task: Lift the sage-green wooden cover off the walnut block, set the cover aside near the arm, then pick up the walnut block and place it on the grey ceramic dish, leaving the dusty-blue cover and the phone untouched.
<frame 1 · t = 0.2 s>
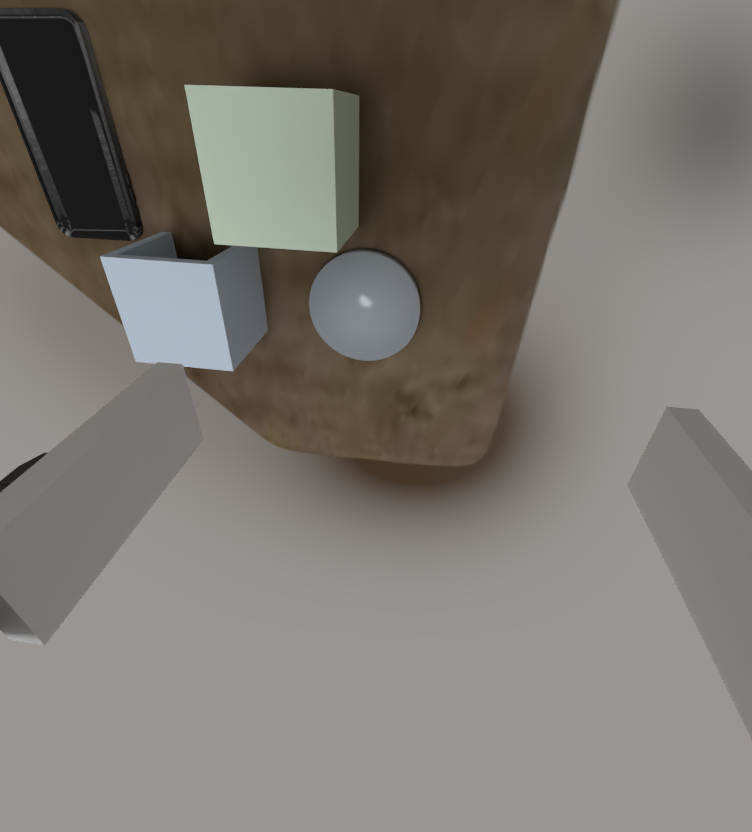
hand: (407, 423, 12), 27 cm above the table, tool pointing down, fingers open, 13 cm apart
phone: (79, 138, 34), on the table
dish: (365, 305, 38), on the table
blue cover: (218, 283, 39), on the table
sage cover: (304, 163, 33), on the table
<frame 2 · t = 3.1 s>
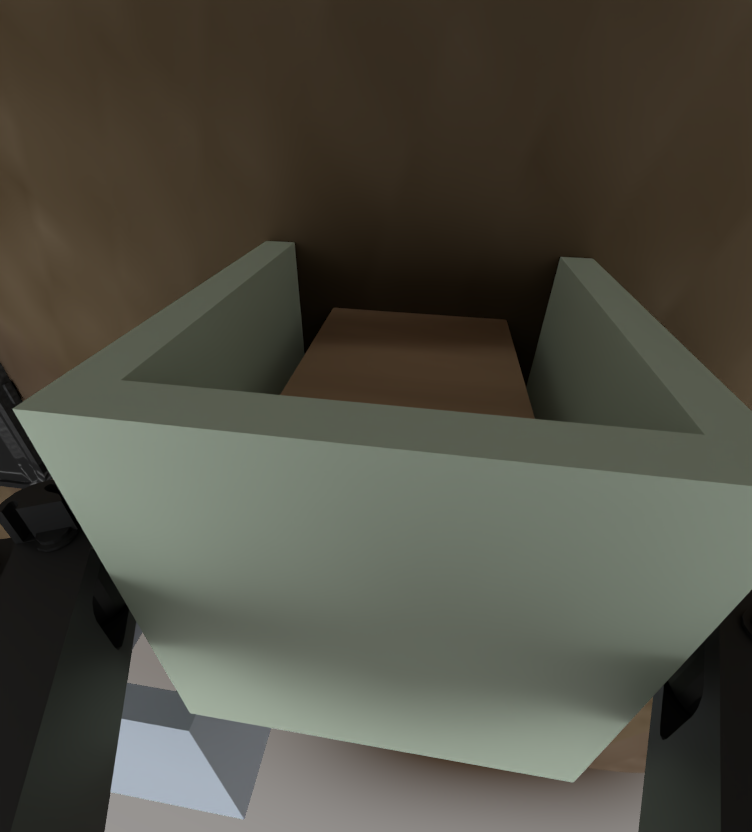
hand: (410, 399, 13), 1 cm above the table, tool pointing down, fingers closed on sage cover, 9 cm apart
walnut block: (412, 386, 14), on the table
blue cover: (212, 547, 20), on the table
sage cover: (412, 388, 14), on the table, touching gripper
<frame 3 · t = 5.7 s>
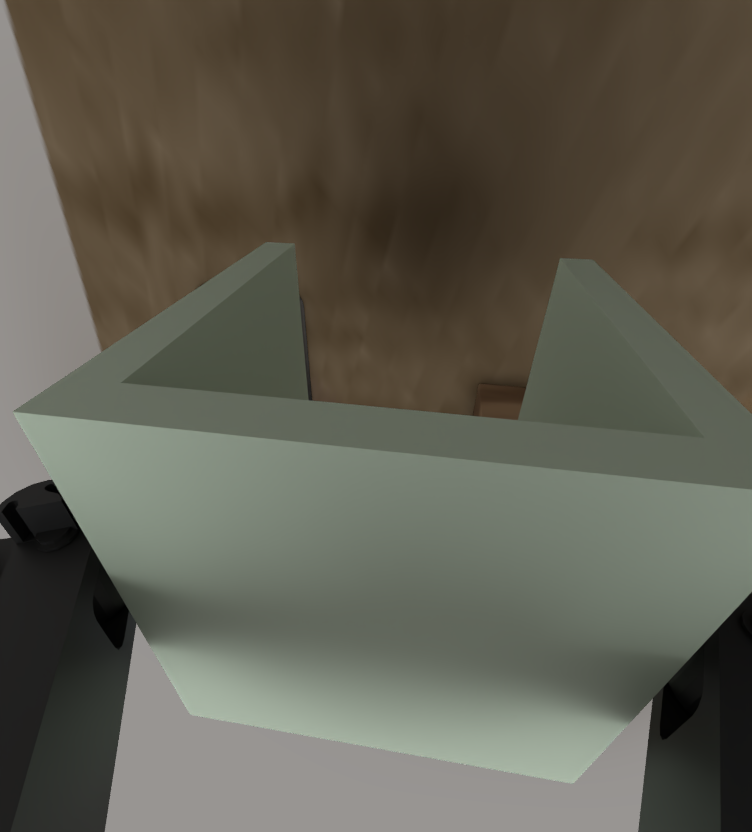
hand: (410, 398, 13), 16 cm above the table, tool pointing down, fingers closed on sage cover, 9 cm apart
walnut block: (506, 414, 32), on the table
phone: (265, 377, 34), on the table
sage cover: (412, 389, 14), point 15 cm above the table, touching gripper
when the fingers open (2 cm above the table, at t = 8.2 s): sage cover drops 2 cm, on the table.
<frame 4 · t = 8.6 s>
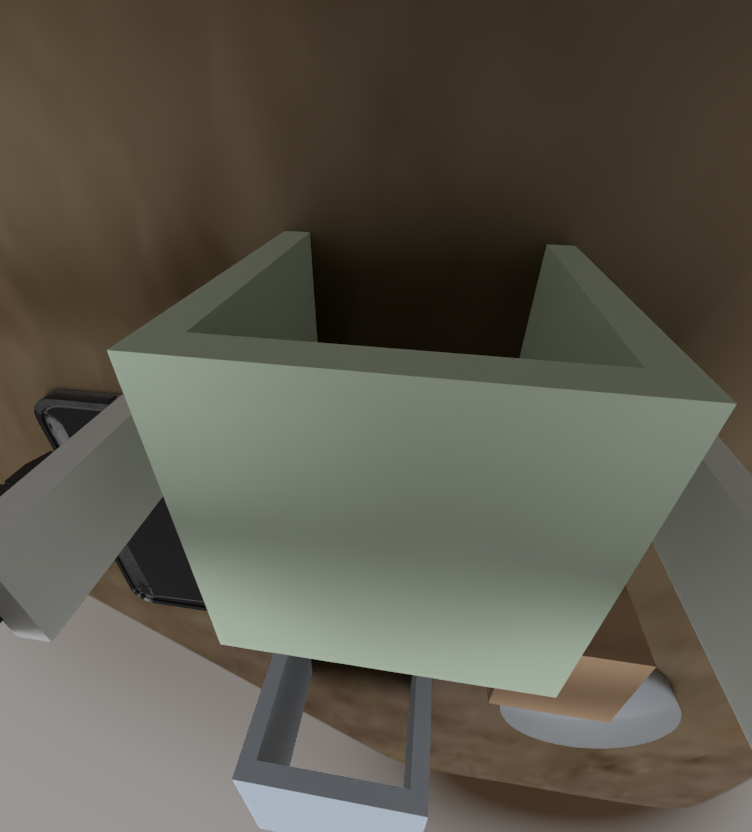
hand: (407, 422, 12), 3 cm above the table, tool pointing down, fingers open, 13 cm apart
walnut block: (541, 575, 21), on the table
phone: (176, 508, 22), on the table
dish: (580, 693, 26), on the table
blue cover: (360, 650, 27), on the table
sage cover: (414, 366, 15), on the table
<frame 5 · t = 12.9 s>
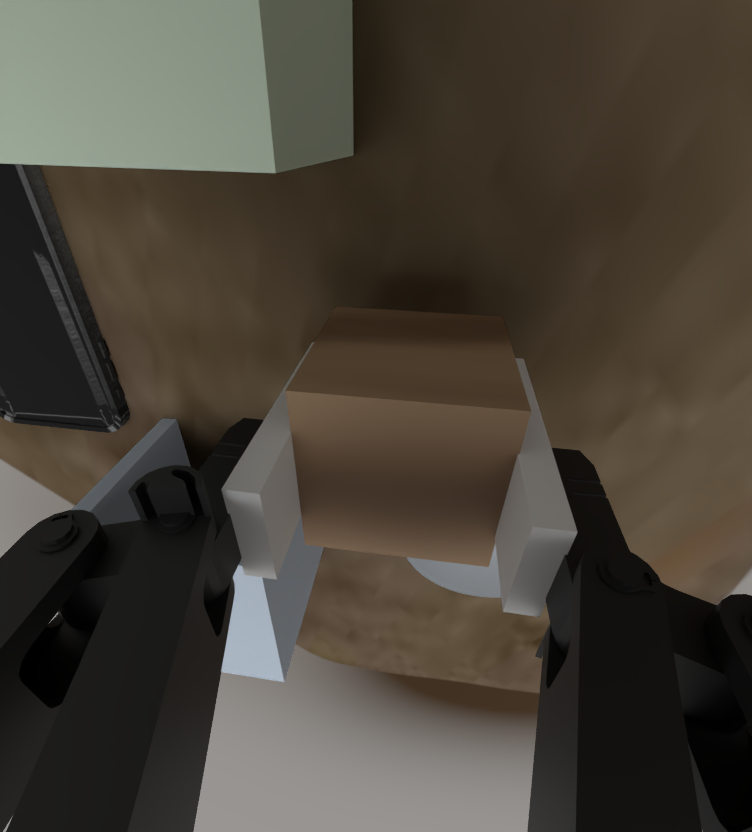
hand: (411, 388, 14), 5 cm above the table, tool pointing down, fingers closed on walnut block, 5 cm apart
walnut block: (412, 383, 14), point 5 cm above the table, touching gripper
phone: (20, 284, 20), on the table
dish: (489, 525, 24), on the table
blue cover: (250, 484, 25), on the table
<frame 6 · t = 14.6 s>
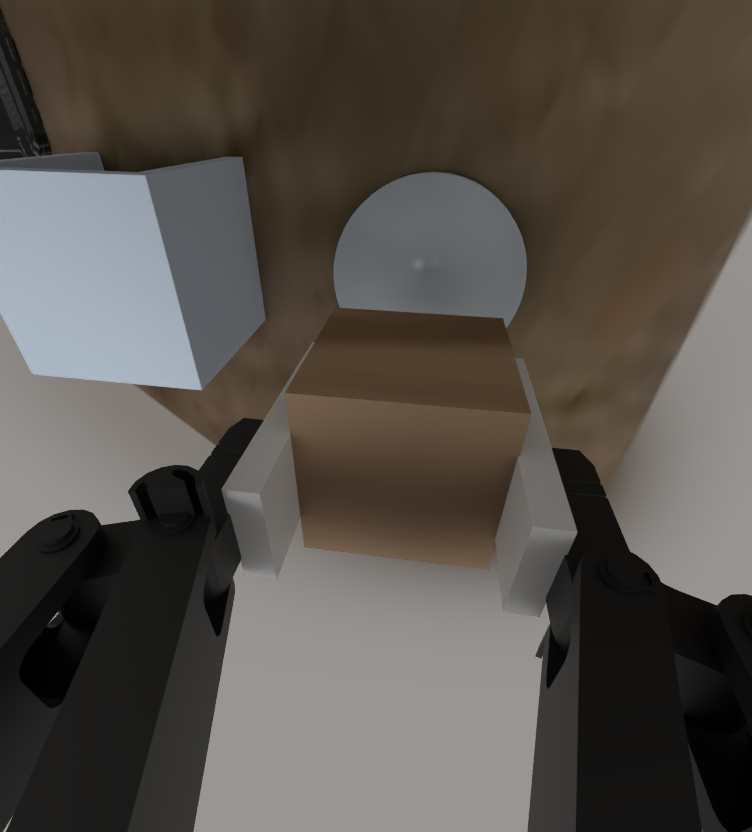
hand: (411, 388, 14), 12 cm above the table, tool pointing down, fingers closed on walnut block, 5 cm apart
walnut block: (412, 384, 14), point 11 cm above the table, touching gripper
dish: (427, 276, 23), on the table
blue cover: (182, 243, 24), on the table
when the fingers open (2 cm above the table, at t = 16.6 s): walnut block stays where it is, resting on dish.
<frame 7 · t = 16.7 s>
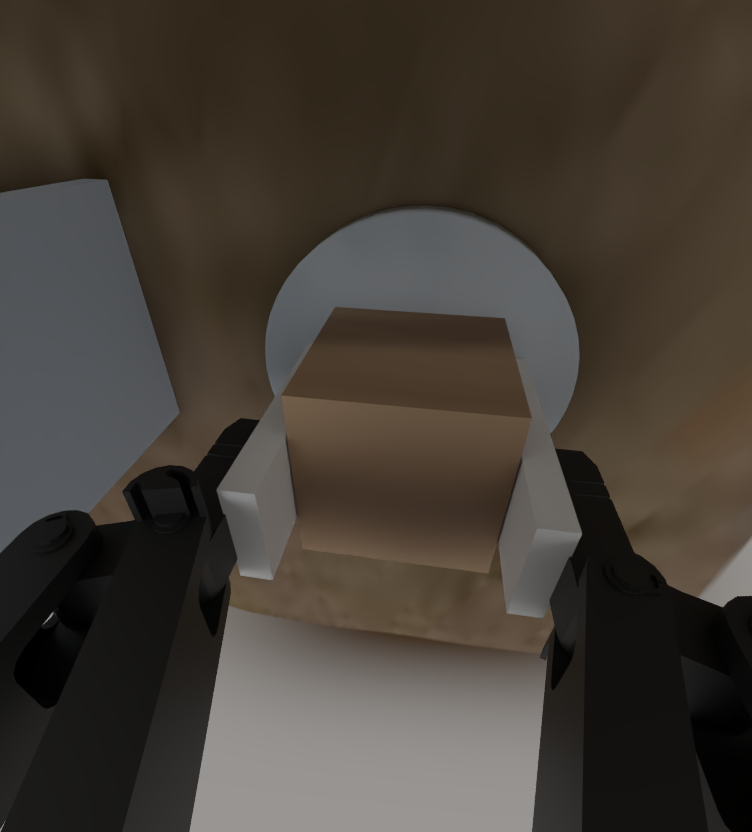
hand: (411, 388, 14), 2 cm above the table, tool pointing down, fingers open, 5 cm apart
walnut block: (412, 384, 14), point 1 cm above the table, touching dish
dish: (416, 363, 15), on the table
blue cover: (41, 307, 16), on the table
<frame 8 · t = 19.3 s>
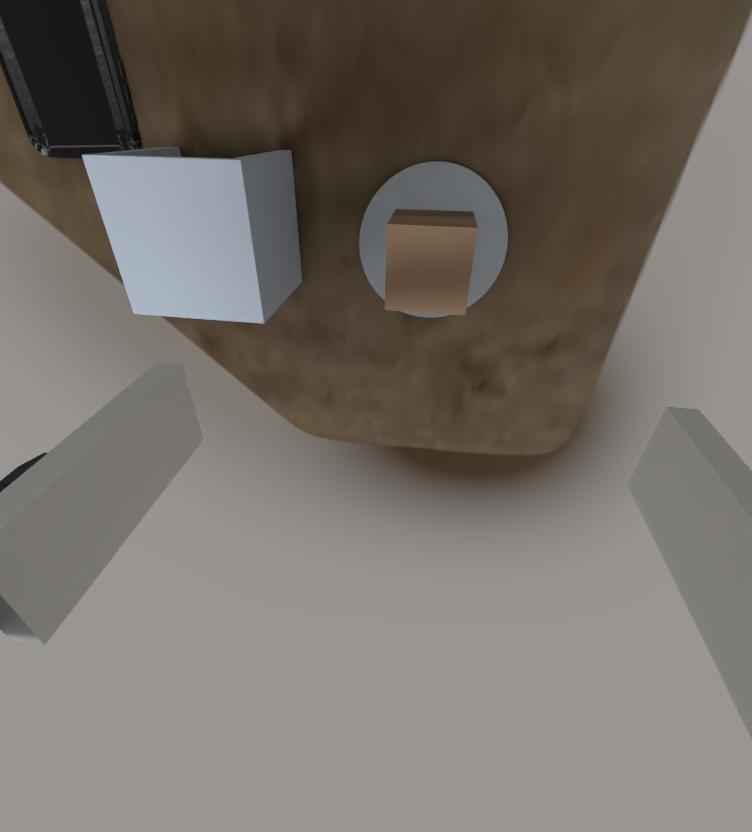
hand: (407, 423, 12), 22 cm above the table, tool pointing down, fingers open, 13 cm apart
walnut block: (430, 250, 29), point 1 cm above the table, touching dish
phone: (55, 13, 26), on the table
dish: (432, 243, 30), on the table
blue cover: (239, 218, 30), on the table
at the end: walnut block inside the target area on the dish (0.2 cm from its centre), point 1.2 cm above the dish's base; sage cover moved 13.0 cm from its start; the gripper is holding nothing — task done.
